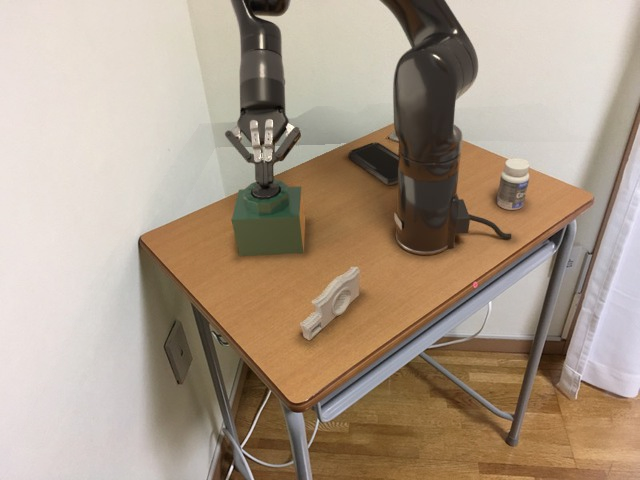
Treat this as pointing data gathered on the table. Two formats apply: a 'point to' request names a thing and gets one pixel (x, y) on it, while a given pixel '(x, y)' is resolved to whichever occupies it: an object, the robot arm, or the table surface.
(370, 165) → the phone
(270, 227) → the dispenser
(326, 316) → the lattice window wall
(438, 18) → the robot arm
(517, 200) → the pill bottle
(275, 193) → the dark push button
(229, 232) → the table surface
